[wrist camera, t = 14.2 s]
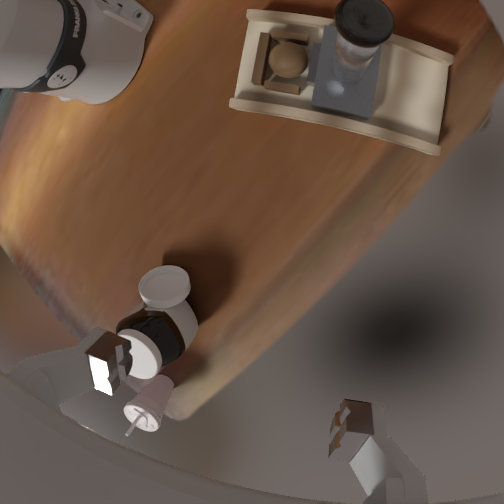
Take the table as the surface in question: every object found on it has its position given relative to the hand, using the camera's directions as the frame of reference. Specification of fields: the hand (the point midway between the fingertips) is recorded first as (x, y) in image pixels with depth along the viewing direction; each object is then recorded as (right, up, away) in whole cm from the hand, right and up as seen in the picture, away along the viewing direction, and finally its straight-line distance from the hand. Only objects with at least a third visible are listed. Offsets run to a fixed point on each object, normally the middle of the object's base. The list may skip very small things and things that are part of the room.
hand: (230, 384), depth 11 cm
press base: (+12, +24, +20) cm, 33 cm away
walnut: (+4, +24, +17) cm, 30 cm away
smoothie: (-15, -18, +41) cm, 47 cm away
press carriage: (+10, +23, +18) cm, 31 cm away
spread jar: (-11, -2, +35) cm, 36 cm away
